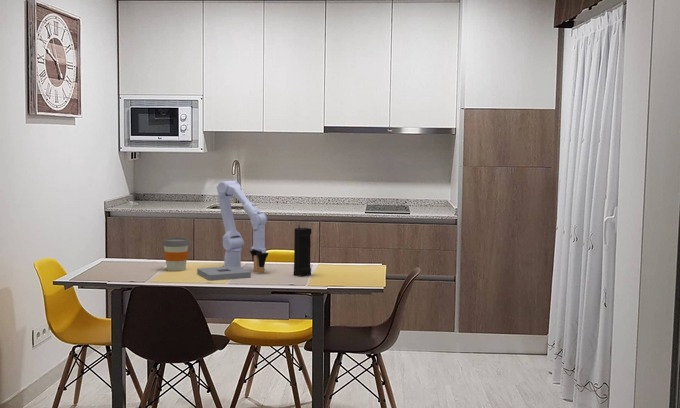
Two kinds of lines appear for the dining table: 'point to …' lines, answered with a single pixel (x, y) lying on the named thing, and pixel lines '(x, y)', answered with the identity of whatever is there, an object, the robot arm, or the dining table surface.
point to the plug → (257, 265)
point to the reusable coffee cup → (176, 253)
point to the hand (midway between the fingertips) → (259, 265)
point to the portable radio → (302, 252)
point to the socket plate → (223, 273)
